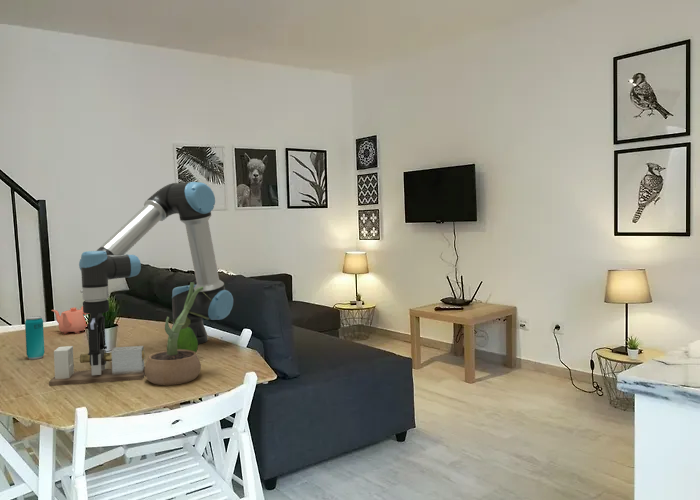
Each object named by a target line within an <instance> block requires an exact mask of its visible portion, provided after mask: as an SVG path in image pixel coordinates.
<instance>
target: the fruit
mask: <svg viewBox="0 0 700 500" xmlns="http://www.w3.org/2000/svg"><path fill="white" fill-rule="evenodd" d="M198 348H199V344H198V341H197V338H196V336H195V334H194V332H193V330H192V329H191V328H190V327H187V328H184V329H180V332H179V336H178V340H177V350H179V349H181V350H191V351H194V352H196V353H197V351H198Z"/></svg>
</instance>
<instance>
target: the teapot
mask: <svg viewBox="0 0 700 500" xmlns="http://www.w3.org/2000/svg"><path fill="white" fill-rule="evenodd" d="M51 312H53V313H54V315H55V320H56V322H57V323H58V330H59V332H62V335H65V334H69V333H72V332H74V334H81V332H85V331H84V329H85V327H86V326H87V324H86V321H85V318H84V316H83V314H84V315H86V313H84V312H83V305H82V306H81V308H80V309H78V308H77V307H70V309H69V310H65V311H62V312H61V314H60V313H59V311H58V310H56V309H51ZM85 330H86V329H85Z"/></svg>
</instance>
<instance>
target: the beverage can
mask: <svg viewBox="0 0 700 500" xmlns="http://www.w3.org/2000/svg"><path fill="white" fill-rule="evenodd" d="M24 329H25V349H26V350H25V352H26V354H25V355H26V356H27V358H28V359H29V360H40V359H43V357H44V355H45V335H44V319H43V316H42V315H34V316H33V315H32V316H27V317H26V318H25V321H24Z"/></svg>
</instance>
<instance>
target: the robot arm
mask: <svg viewBox="0 0 700 500" xmlns="http://www.w3.org/2000/svg"><path fill="white" fill-rule="evenodd" d="M215 205H216V197H215V194H214V191H213V190H212V188H211V187H210V186H209V185H207V184H206V183H204V182H199V181H198V182H197V181H187V182H172V183H168V184H167V185H164V186H163V187H161V188H160V189H158V190H157V191H156V192H155V193H153V194H152V195H151V196H150V197H149V198H147V200H145V201H144V203H143V207H141V209H139V211H138V212H136V213H135V214H134V215H133V216H132V217H131V218H130V219H129V220H128V221H127V222H126V223H125V224H123V226H121V227H120V228H119V229H118V230H117V231H116V232H115V233H114V234H113V235H112V236H110V238H108V239H107V240H106V241H105V242H104V243H103V244H102V245H101V246H100V247H99V248H97V249H96V250H89V251H83V252H82V253H81V256H80V259H79V263H78V266H79V267H78V268H79V270H80V272H81V273H80V274H81V287H82V288H81V290H80V293H81V294H82V300H83V302H82V306H83V312H84V313H86V314H90V319H89V323H88V328H87V330H88V353H87V354H88V355H91V365H90V367H91V369H90V370H92V375H101V370H105V369H106V364H105V365H101V354H100V349H105V350H107V348H108V346H107V344H106V328H105V327H106V326H105V325H106V323H105V320H106V317H105V315H103V314H104V313H108V312H109V311H110V306H109V305H110V301H109V300H108V298H110V295H109V293H110V292H109V280H115V279H116V280H117V279H123V278H125V279H126V278H132V277H136V276H138V275H139V274H140V272H141V271H142V270H141V269H142V265H141V264H142V263H141V260H140V259H139V256H137V255H136V254H128V252H129V251H130V250H131V248H133V247H134V246H135V245H136V244H137V243H138V242H139V241H140V240H141V239H142V238H143V237H145V235H147V233H148V232H150V230H152V229H153V227H154V226H155V225H157V224H158V223H159V222H163V221H165V220H166V219H167V218H168V217H170V216H172V215H175V214H178V218H179V221H180V222H181V223H183V224H184V226H185V229H186V235H187V236H186V237H187V240H188V245H189V249H190V251H189V252H190V255H191V261H192V265H193V271H194V275H195V281H196V284H194V289H193V292H194V291H195V290H196V289H197V288H199V287H202V286H203V289H204V290H201V291H200V292H198V294H197V295H196V298H195V300H194V303H193V305H192V307H191V309H190V310H189V311H191V312H194V313H197V314H200V315H203V316H205V317H207V318H208V319H209V320H212V321H215V320H219V321H221V320H224V319H225V318H227V317H228V316H229V315H230V313H231V311H232V309H233V306H234V296H233V295H232V292H230V290H227V289H226V287H225V282H224V281H222V280H221V279H220V277H219V271H218V270H219V269H218V266H217V260H216V254H215V249H214V244H213V239H212V235H211V234H212V233H211V228H210V223H209V220H210V219H211V217H212V211H213V210H214V208H215ZM189 288H190V284H189V285H183V286H177V287H174V288H173V289H172V293H171V294H172V296H171V307H172V308H171V309H172V322H174V323H172V327H173V326H174V324H175V319H176V318H177V317H179V315H180V314H181V313H182V311H183V309H184V305H185V302H186V298H187V296H188V293H189ZM203 292H204V293H205V294H206V295H207V296H208V297H209V298H210V299H211V300H212V301H211V300H210V299H209V298H208V297H207V296H206V295H205V294H204V293H203ZM187 317H188V318H189V319H190V325H189V326H188V327H190V328H191V329H192V330H193V332H194V334H195V336H196V338H197V341H198V345H200V344H204V343H206V342H208V339H209V338H208V333H207V331H206V327H205V325H204V320H203V319H204V318H202V317H200V316H197V315H194V314H191V313H188V315H187ZM172 327H171V328H172Z"/></svg>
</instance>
